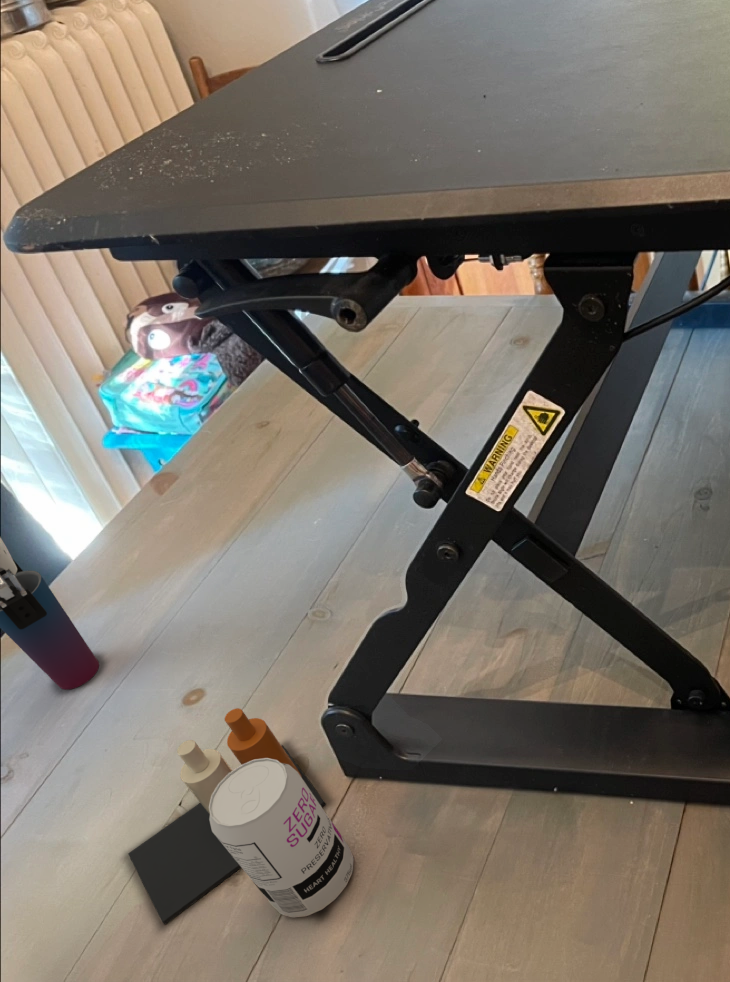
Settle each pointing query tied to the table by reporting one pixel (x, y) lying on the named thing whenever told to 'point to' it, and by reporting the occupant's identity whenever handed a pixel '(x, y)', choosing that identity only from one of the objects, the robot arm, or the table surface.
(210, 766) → the cream bottle
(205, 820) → the mat
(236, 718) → the amber bottle
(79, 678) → the cup
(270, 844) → the supplement can
